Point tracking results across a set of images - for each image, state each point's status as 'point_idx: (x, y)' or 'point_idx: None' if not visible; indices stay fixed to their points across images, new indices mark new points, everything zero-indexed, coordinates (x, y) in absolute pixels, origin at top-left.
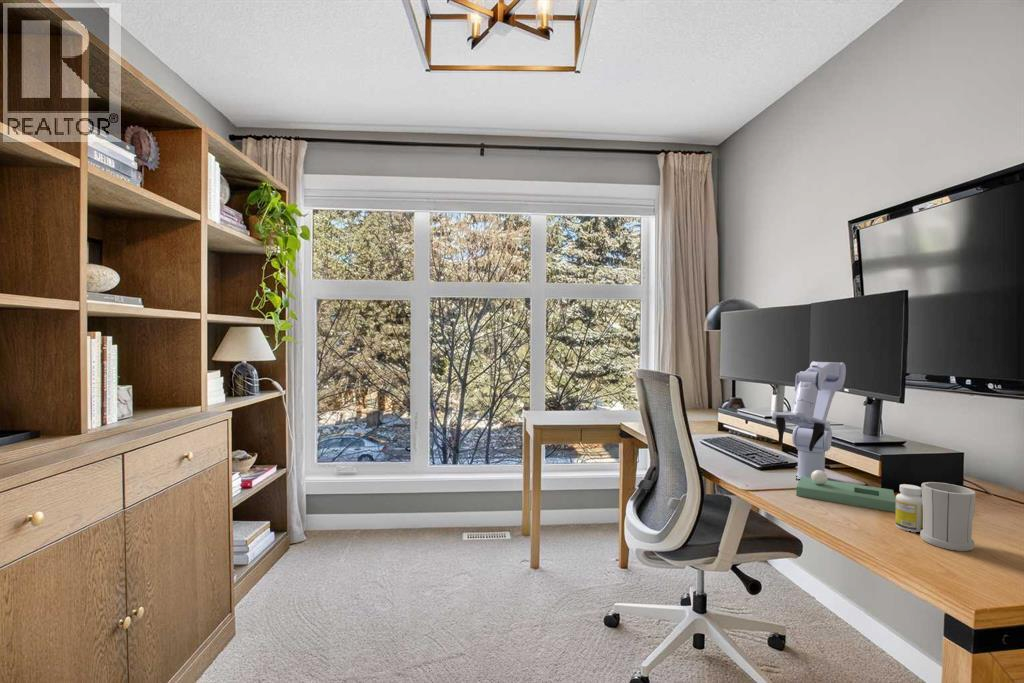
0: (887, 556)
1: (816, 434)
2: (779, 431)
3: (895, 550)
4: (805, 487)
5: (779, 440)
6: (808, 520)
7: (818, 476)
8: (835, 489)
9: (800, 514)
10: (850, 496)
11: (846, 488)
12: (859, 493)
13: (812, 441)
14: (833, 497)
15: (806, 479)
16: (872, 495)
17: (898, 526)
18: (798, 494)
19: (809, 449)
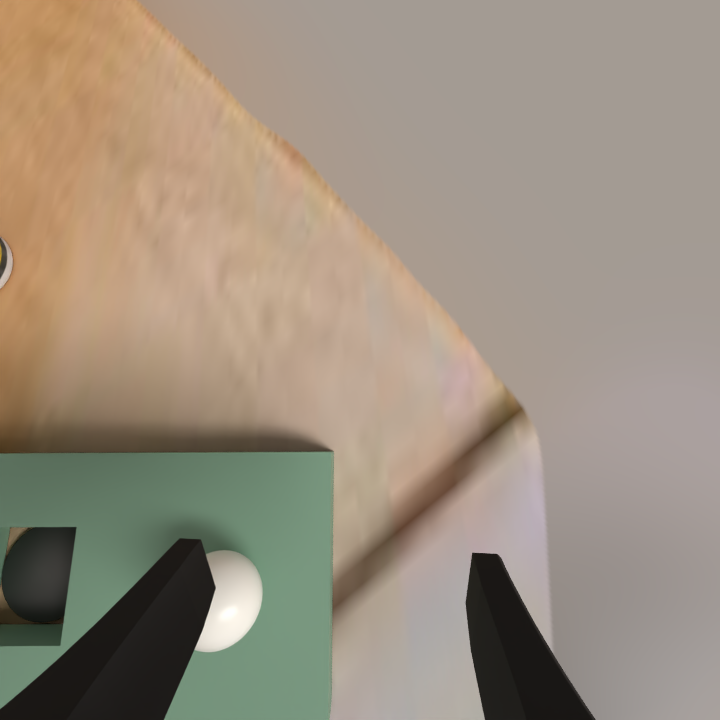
0: (95, 12)
1: (17, 705)
2: (554, 678)
3: (67, 60)
4: (291, 463)
5: (492, 557)
6: (276, 164)
7: (218, 557)
8: (158, 523)
9: (302, 209)
10: (105, 453)
11: (104, 584)
12: (56, 518)
13: (137, 596)
14: (181, 452)
15: (294, 660)
16: (1, 518)
17: (6, 245)
18: (324, 451)
19: (208, 569)
